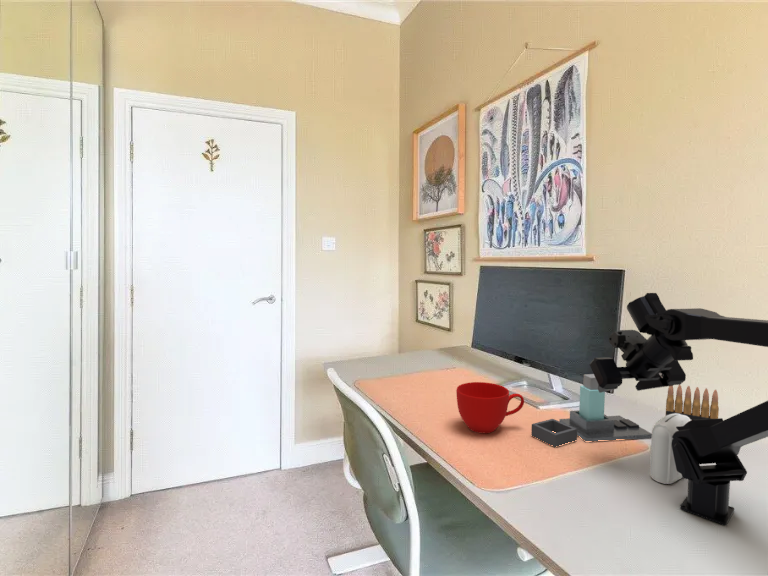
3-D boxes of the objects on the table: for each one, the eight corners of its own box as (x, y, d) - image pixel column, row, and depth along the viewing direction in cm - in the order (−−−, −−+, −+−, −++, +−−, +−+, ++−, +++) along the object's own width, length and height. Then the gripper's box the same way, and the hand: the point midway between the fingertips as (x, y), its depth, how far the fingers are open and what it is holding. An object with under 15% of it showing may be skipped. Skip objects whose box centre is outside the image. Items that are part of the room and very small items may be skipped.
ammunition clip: (717, 438, 105) (720, 389, 104) (717, 441, 104) (720, 391, 102) (664, 428, 111) (666, 381, 110) (663, 430, 110) (666, 383, 109)
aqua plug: (603, 429, 108) (605, 377, 107) (588, 430, 107) (590, 378, 106) (593, 423, 112) (595, 373, 111) (578, 424, 111) (580, 374, 110)
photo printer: (670, 464, 93) (673, 406, 92) (693, 472, 89) (697, 413, 88) (645, 478, 87) (648, 417, 86) (669, 487, 83) (673, 424, 82)
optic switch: (652, 438, 105) (653, 422, 105) (586, 442, 103) (586, 426, 103) (619, 419, 117) (620, 404, 117) (559, 422, 115) (559, 407, 114)
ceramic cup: (531, 439, 105) (532, 398, 104) (460, 438, 105) (460, 398, 105) (516, 418, 118) (516, 382, 117) (452, 418, 118) (453, 381, 117)
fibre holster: (576, 441, 104) (577, 428, 103) (555, 447, 100) (555, 435, 100) (552, 430, 110) (552, 418, 110) (531, 436, 107) (531, 424, 106)
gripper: (678, 318, 94) (639, 357, 105) (596, 320, 91) (566, 360, 103) (707, 364, 86) (662, 400, 98) (620, 368, 84) (584, 404, 96)
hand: (618, 389), depth 99 cm, fingers open, 9 cm apart
